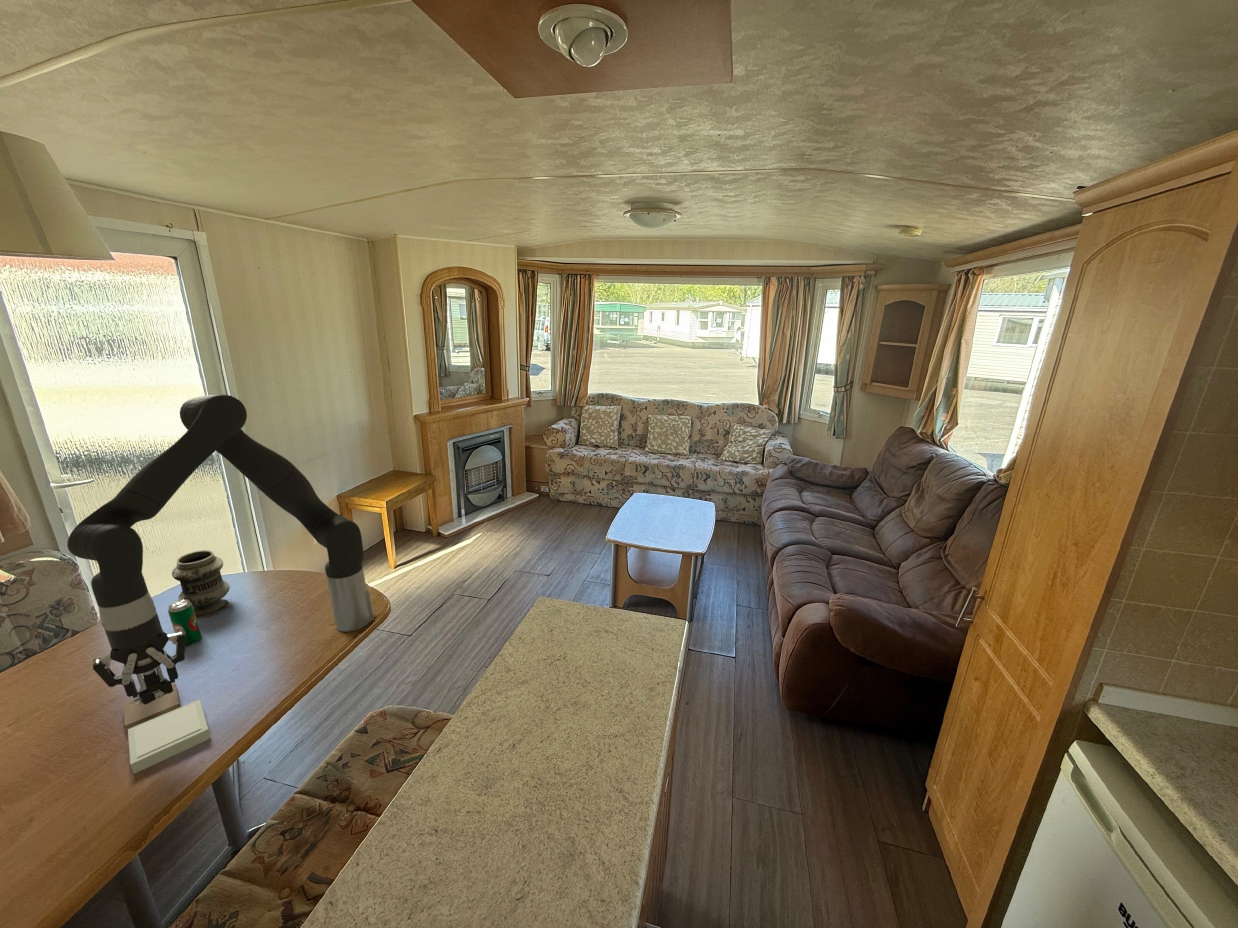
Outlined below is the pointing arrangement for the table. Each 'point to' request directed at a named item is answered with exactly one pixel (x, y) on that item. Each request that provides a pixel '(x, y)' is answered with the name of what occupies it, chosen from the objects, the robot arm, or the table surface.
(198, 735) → the cream tray
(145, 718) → the walnut stand
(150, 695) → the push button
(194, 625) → the soda can
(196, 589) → the apothecary jar
